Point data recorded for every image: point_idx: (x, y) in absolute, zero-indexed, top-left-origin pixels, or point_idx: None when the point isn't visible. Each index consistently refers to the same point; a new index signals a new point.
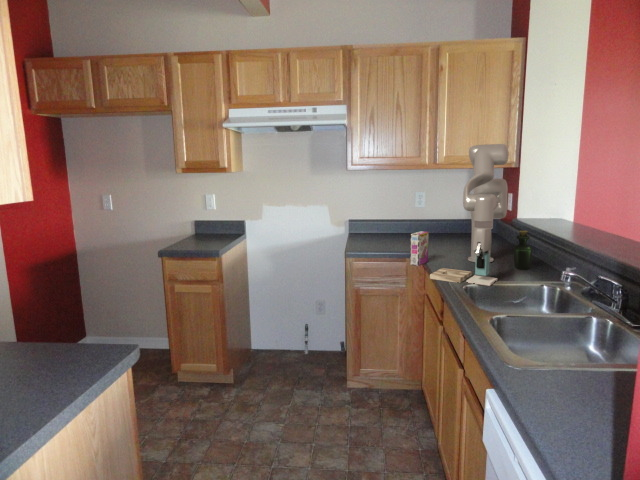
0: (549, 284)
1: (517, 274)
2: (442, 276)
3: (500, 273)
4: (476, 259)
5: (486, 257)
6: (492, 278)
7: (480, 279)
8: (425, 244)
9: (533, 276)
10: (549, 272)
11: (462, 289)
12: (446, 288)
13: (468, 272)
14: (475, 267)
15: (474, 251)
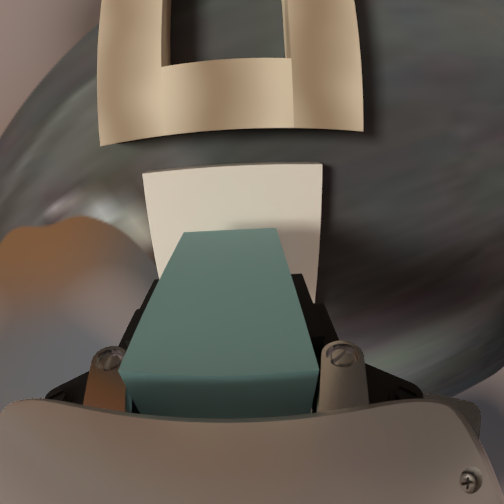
0: None
1: (449, 327)
2: (101, 18)
3: (457, 264)
4: (147, 322)
5: None
6: None
7: None
8: None
9: (426, 374)
10: (474, 376)
11: (29, 222)
12: (2, 152)
13: (323, 115)
14: (170, 260)
15: (37, 404)
